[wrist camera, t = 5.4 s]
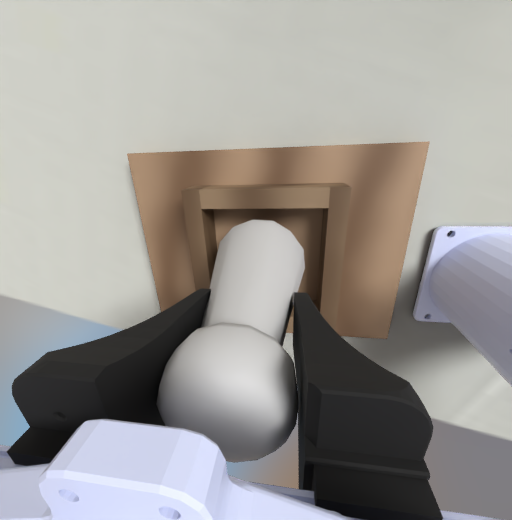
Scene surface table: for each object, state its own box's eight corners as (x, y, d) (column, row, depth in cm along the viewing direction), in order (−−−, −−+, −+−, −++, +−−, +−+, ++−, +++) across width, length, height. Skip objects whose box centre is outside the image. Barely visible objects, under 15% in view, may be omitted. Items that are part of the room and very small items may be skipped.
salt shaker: (260, 192, 17) (198, 308, 5) (319, 247, 18) (381, 446, 6) (209, 250, 19) (84, 423, 7) (265, 295, 20) (234, 507, 8)
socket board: (420, 142, 16) (454, 139, 13) (382, 329, 22) (398, 361, 19) (136, 153, 19) (102, 153, 16) (169, 317, 25) (150, 343, 21)
